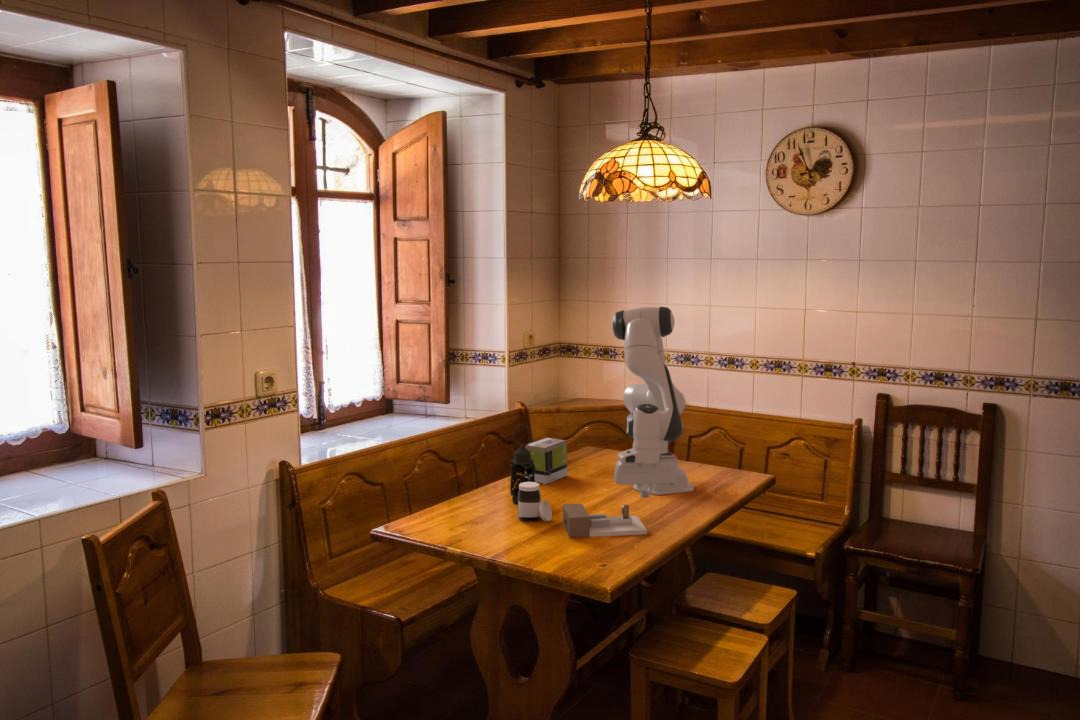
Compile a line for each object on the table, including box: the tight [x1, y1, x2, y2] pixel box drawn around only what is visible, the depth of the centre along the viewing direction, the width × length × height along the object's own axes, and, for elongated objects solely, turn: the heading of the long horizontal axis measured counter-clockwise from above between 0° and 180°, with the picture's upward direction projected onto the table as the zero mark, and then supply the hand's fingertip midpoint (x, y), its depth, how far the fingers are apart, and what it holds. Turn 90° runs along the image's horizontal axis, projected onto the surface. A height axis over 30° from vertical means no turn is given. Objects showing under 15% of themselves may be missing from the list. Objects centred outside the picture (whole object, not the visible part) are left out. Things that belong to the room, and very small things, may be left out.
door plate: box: [562, 503, 648, 539], centre depth 280 cm, size 25×14×6 cm, turn 97°
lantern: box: [509, 424, 536, 504], centre depth 308 cm, size 10×9×28 cm
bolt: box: [600, 504, 632, 525], centre depth 280 cm, size 10×2×6 cm, turn 97°
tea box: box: [524, 437, 568, 485], centre depth 338 cm, size 15×10×15 cm
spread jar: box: [517, 482, 553, 523], centre depth 290 cm, size 12×11×12 cm
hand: (644, 497), depth 280 cm, fingers closed
